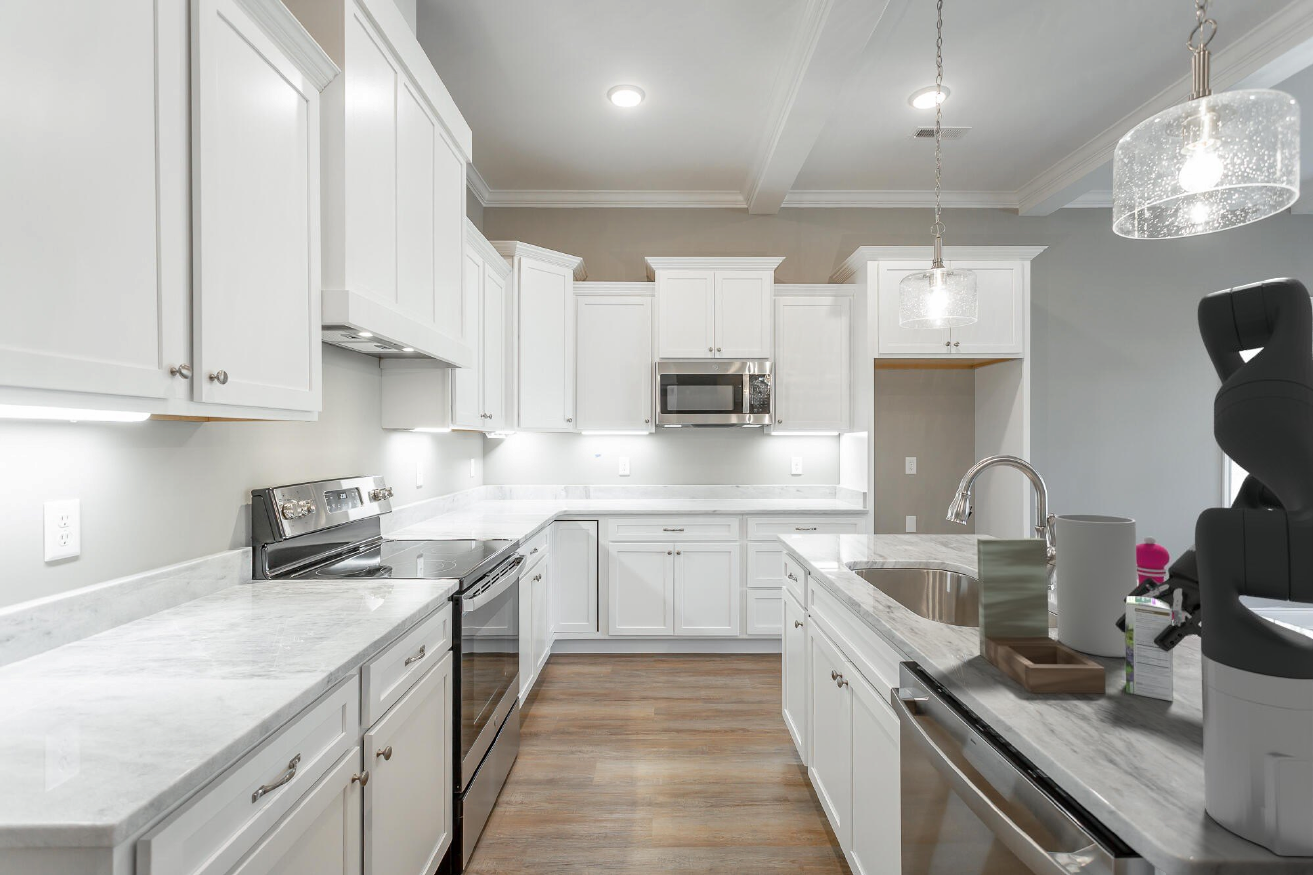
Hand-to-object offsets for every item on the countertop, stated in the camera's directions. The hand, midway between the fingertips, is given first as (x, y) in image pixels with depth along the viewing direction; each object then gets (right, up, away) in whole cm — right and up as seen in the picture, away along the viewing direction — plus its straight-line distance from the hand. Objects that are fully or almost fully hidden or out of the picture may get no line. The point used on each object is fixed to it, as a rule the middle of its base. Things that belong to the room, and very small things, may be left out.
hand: (1139, 637), depth 93 cm
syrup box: (+2, -9, 0) cm, 9 cm away
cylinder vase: (+8, -9, +20) cm, 23 cm away
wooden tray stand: (-11, -9, +8) cm, 16 cm away
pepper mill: (+25, -9, +27) cm, 38 cm away
